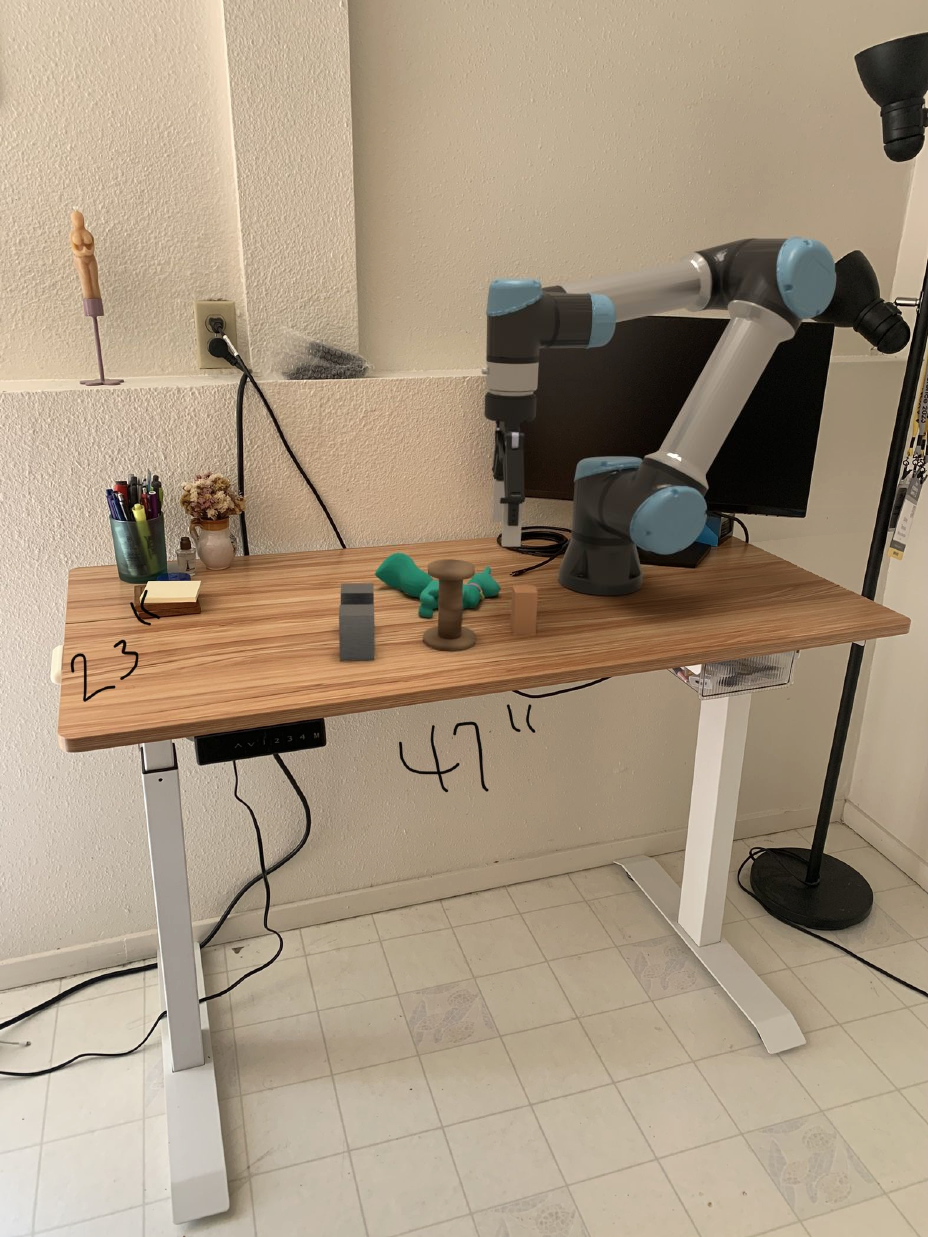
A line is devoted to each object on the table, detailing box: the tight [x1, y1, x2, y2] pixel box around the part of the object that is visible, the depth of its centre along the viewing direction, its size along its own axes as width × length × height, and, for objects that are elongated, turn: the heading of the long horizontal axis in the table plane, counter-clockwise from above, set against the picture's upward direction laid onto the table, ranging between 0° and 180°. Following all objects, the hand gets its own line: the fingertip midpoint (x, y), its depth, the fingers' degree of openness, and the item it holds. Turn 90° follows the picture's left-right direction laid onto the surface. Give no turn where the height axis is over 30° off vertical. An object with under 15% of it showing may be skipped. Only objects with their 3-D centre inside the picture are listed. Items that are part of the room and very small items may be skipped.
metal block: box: [338, 582, 376, 662], centre depth 139 cm, size 5×14×7 cm, turn 6°
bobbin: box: [422, 558, 477, 652], centre depth 140 cm, size 8×8×12 cm
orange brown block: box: [509, 584, 539, 636], centre depth 146 cm, size 4×4×7 cm
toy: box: [374, 552, 502, 618], centre depth 159 cm, size 7×22×20 cm
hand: (505, 533), depth 142 cm, fingers open, 13 cm apart
